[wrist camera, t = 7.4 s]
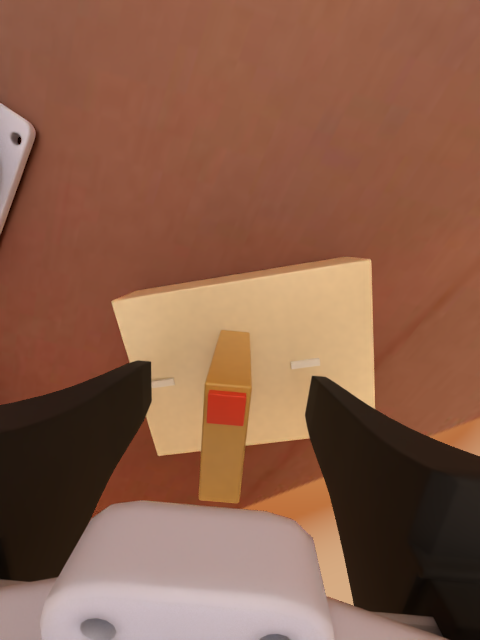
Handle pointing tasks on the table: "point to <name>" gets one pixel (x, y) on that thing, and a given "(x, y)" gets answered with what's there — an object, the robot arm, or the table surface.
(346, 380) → the plate
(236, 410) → the thumbturn
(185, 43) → the table surface
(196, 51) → the table surface
